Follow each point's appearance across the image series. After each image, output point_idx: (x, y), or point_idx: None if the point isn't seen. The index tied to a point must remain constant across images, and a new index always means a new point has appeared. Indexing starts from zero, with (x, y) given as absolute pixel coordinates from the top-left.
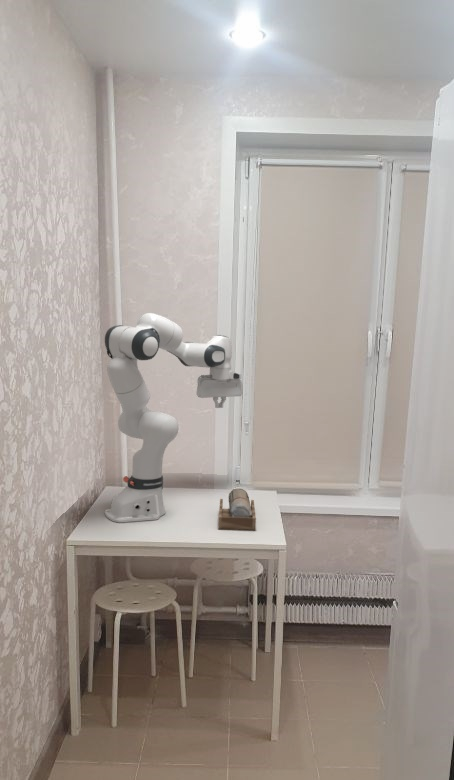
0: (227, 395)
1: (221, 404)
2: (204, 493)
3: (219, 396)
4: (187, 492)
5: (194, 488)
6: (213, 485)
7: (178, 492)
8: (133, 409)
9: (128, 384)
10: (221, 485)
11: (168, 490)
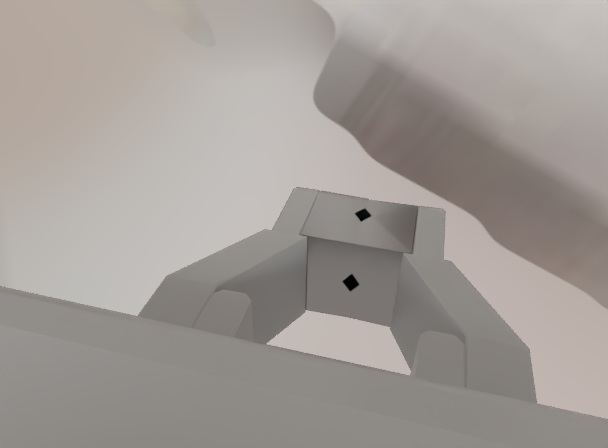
0: (62, 325)
1: (327, 226)
2: (477, 9)
3: (407, 383)
4: (538, 68)
5: (461, 107)
6: (354, 104)
7: (576, 90)
8: None
9: None
10: (321, 86)
11: (590, 141)
